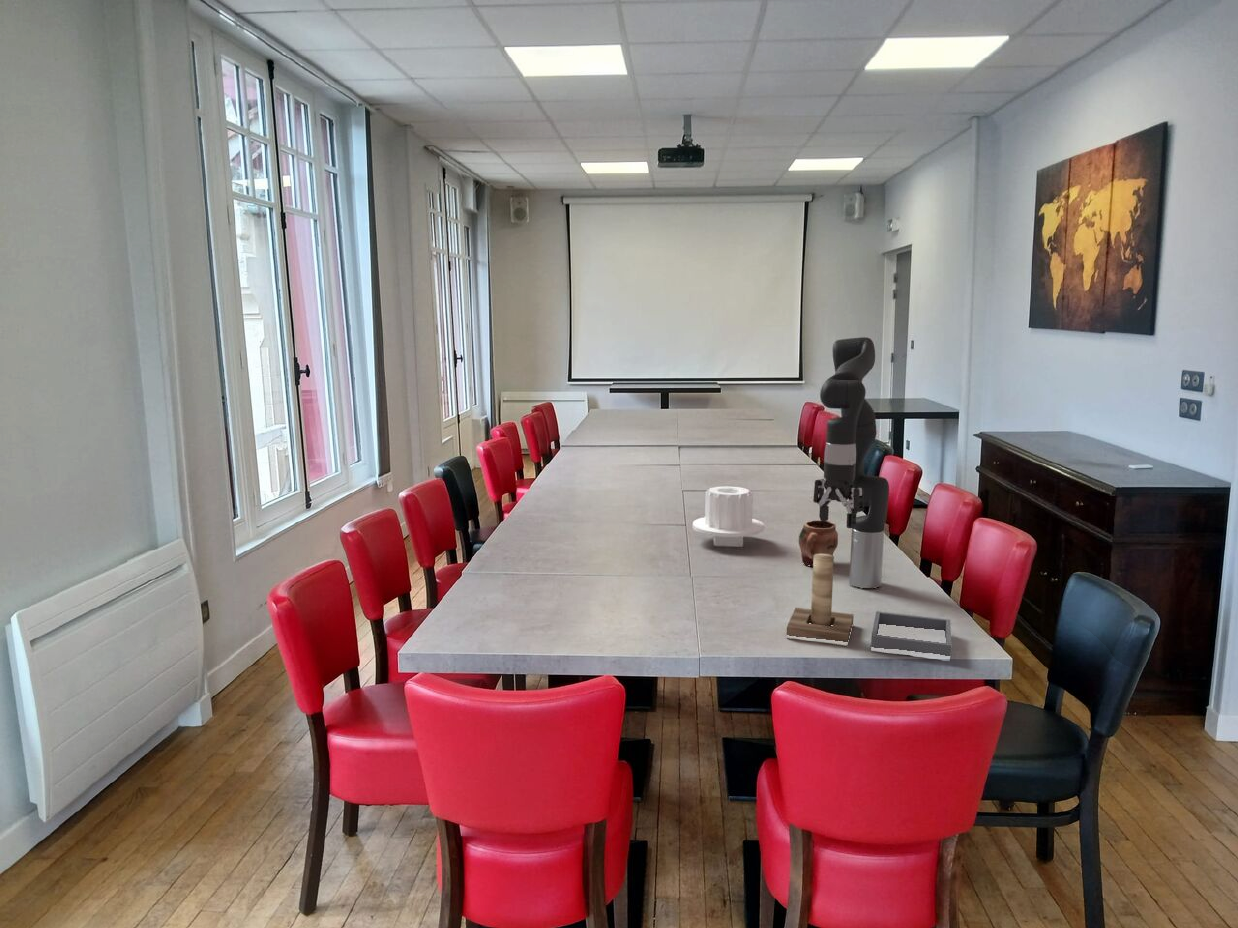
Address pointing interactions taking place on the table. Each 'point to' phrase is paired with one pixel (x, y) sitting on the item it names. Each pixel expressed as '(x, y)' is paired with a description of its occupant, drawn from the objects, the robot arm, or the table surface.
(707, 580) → the table surface
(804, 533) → the decorative planter
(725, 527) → the lamp base
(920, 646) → the slate grey tray
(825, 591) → the beech dowel
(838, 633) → the walnut socket block
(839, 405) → the robot arm
